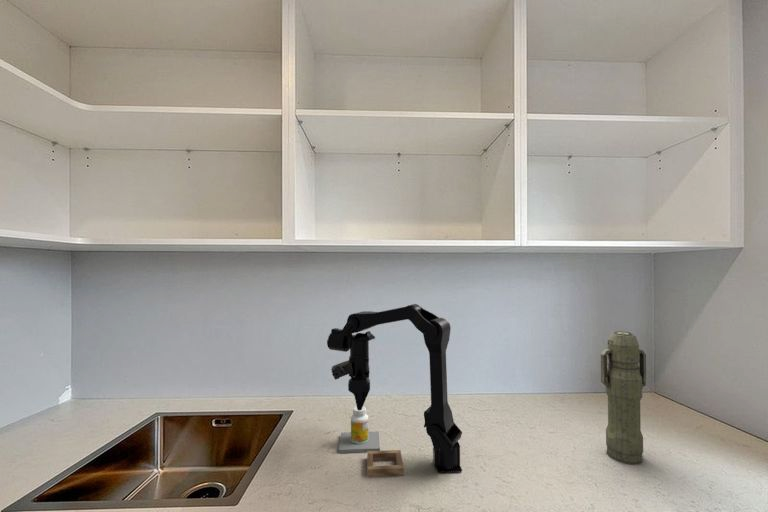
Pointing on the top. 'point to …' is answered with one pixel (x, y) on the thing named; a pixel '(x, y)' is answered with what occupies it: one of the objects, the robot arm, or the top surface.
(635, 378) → the thermos
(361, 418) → the supplement bottle
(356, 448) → the mat
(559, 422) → the top surface
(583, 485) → the top surface
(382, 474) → the holder
